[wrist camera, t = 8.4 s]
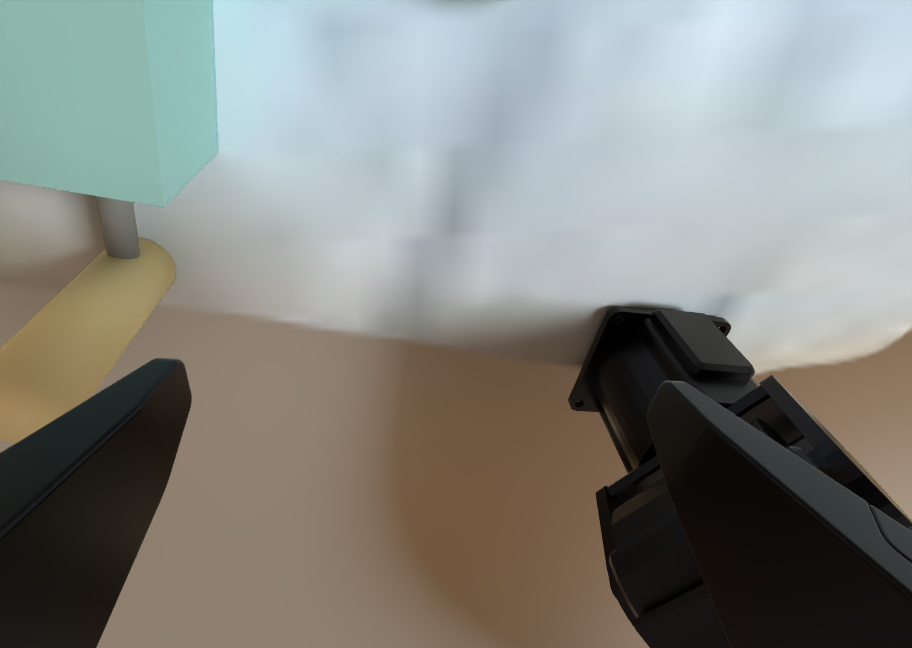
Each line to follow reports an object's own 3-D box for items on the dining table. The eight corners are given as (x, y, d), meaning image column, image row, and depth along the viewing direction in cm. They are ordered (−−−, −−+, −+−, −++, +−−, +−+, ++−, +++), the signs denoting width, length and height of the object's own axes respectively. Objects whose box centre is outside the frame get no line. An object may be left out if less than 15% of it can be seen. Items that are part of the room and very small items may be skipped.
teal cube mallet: (223, 302, 20) (146, 452, 14) (61, 281, 19) (-107, 435, 13) (210, -60, 14) (48, -91, 7) (-43, -131, 12) (-520, -248, 6)
